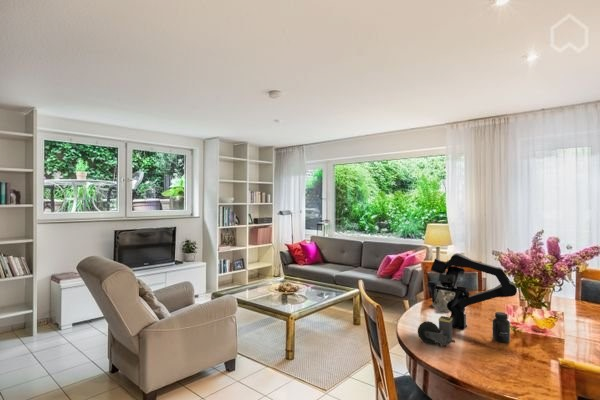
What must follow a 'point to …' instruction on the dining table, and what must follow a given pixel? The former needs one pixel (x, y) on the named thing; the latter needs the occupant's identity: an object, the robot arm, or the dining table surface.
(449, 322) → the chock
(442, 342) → the caster wheel
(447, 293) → the ceramic cottage
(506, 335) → the supplement bottle
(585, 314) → the dining table surface
